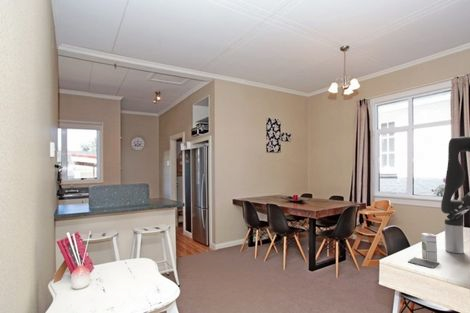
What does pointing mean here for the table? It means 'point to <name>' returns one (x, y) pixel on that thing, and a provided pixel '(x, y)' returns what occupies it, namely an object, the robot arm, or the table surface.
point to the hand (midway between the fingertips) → (451, 217)
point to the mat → (424, 262)
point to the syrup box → (429, 246)
